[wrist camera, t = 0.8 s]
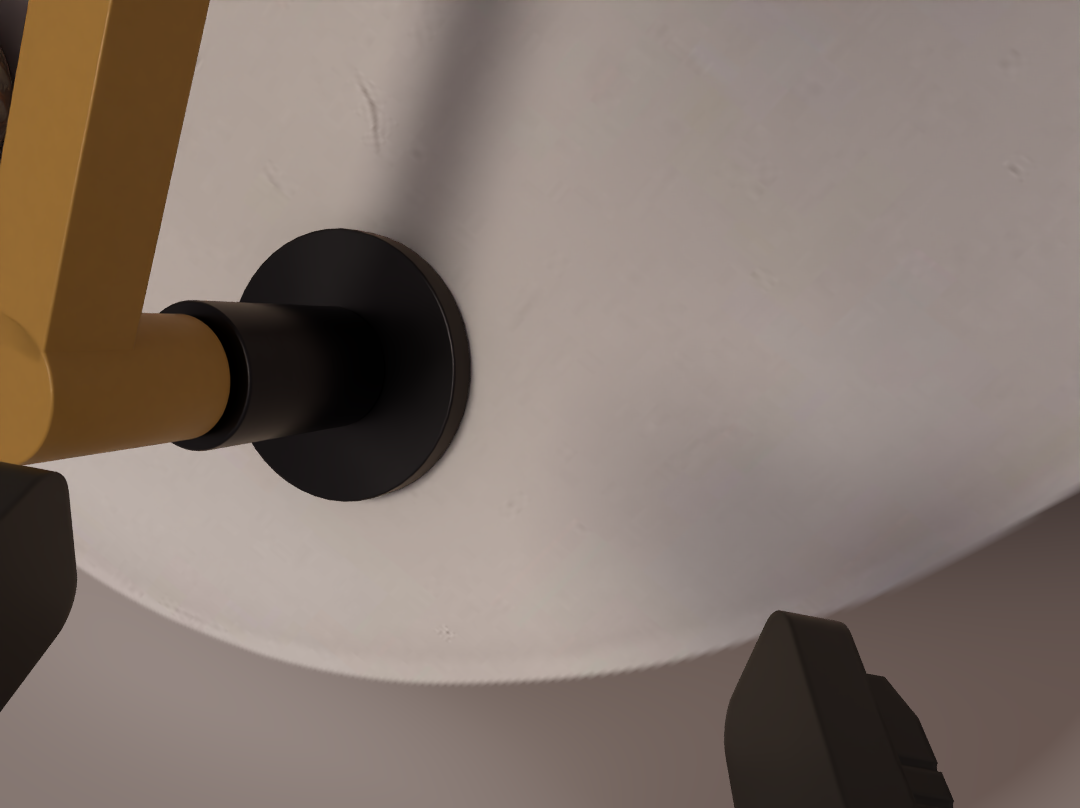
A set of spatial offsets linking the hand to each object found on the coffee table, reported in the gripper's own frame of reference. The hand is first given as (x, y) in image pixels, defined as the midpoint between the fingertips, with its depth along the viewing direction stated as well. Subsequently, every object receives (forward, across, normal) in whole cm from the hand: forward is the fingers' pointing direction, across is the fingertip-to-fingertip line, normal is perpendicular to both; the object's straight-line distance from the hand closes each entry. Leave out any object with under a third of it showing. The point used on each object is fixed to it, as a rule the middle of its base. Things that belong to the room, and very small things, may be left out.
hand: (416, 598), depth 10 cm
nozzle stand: (+21, +5, +9) cm, 23 cm away
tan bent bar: (+15, +8, 0) cm, 17 cm away
